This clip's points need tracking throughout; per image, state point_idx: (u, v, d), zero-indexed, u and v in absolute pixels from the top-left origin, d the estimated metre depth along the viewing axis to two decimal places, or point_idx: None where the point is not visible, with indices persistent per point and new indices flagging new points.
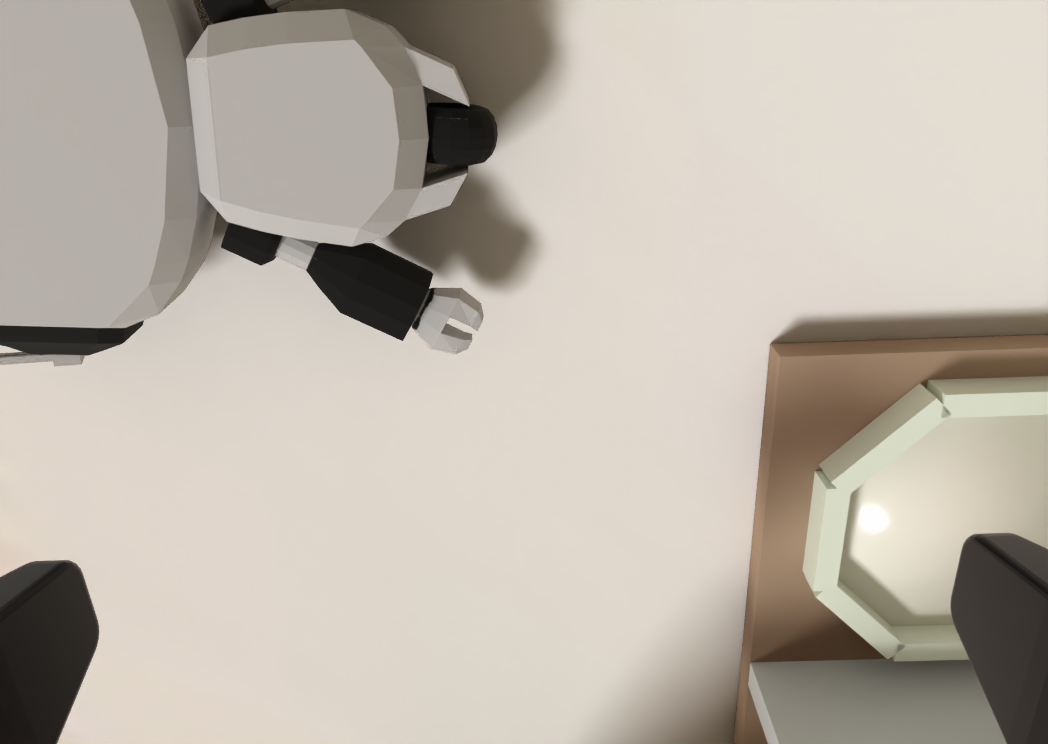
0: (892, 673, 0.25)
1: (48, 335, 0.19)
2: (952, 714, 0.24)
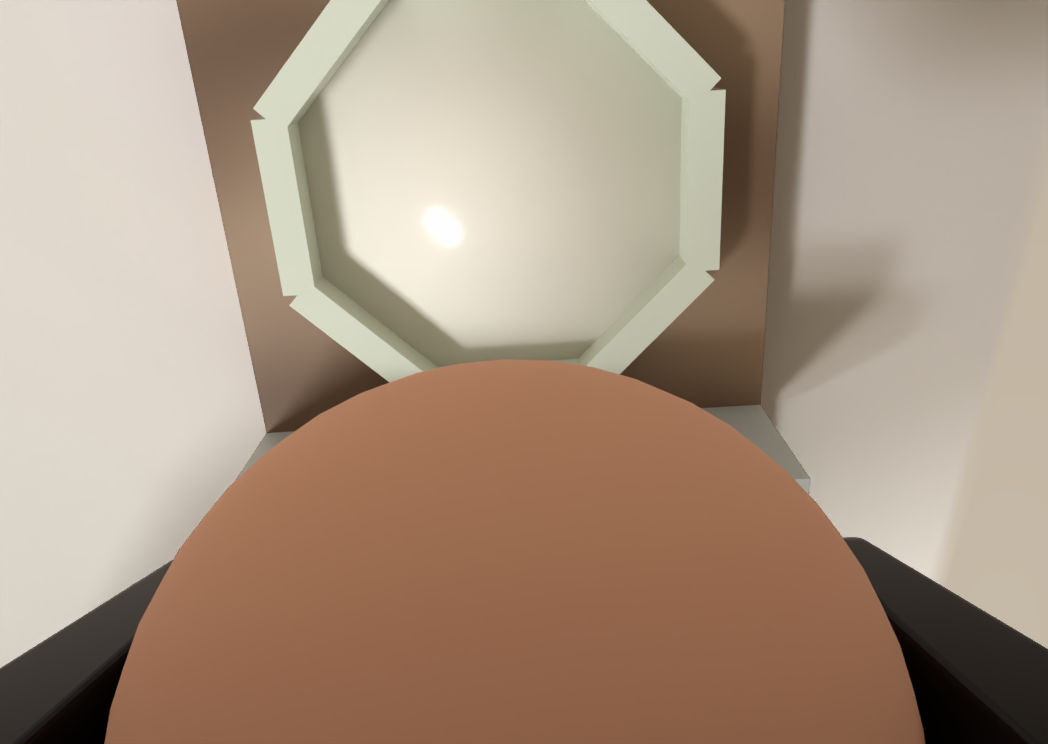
0: None
1: None
2: None
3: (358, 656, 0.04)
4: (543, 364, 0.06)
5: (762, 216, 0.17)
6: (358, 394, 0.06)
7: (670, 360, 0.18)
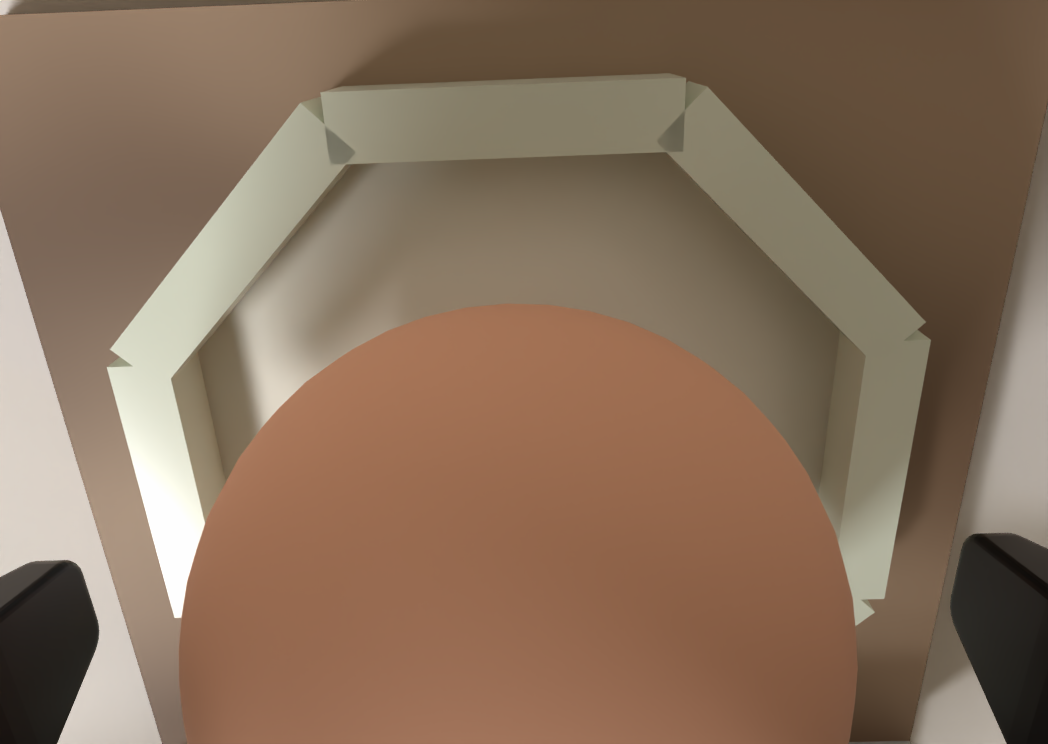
0: None
1: None
2: None
3: (399, 505, 0.05)
4: (541, 305, 0.07)
5: (947, 497, 0.11)
6: (386, 331, 0.07)
7: None
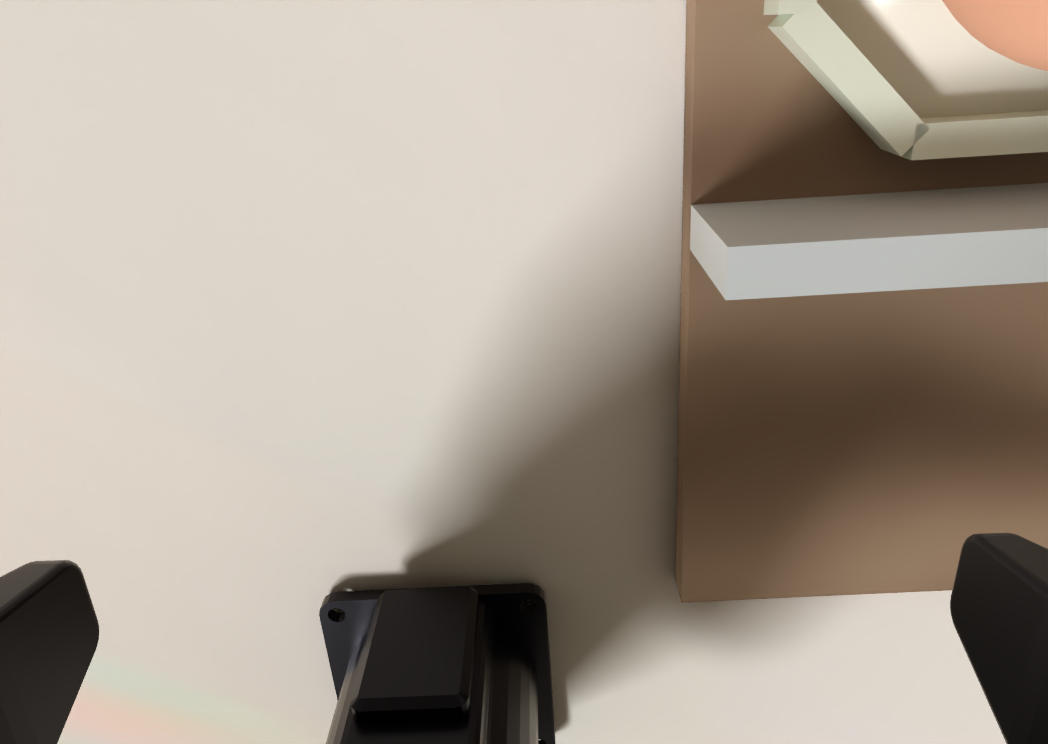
0: (909, 197, 0.16)
1: None
2: (1007, 213, 0.15)
3: None
4: None
5: None
6: None
7: None
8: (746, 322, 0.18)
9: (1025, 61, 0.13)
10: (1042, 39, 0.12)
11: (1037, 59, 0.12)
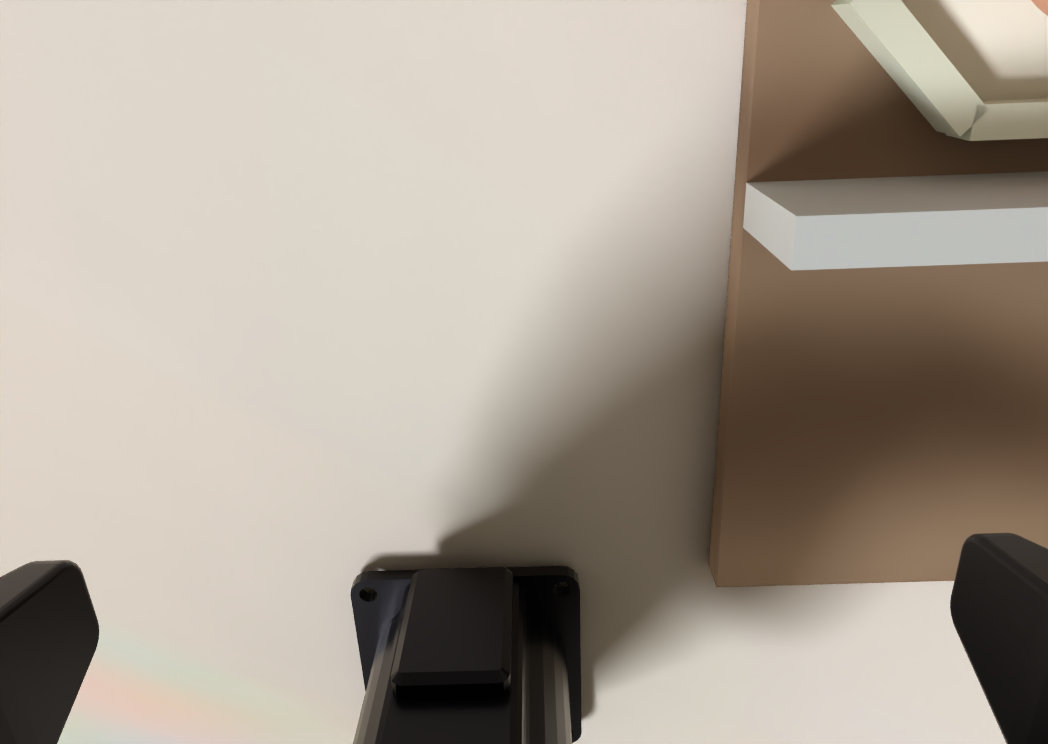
0: (964, 179, 0.17)
1: None
2: None
3: None
4: None
5: None
6: None
7: None
8: (795, 302, 0.18)
9: None
10: None
11: None
